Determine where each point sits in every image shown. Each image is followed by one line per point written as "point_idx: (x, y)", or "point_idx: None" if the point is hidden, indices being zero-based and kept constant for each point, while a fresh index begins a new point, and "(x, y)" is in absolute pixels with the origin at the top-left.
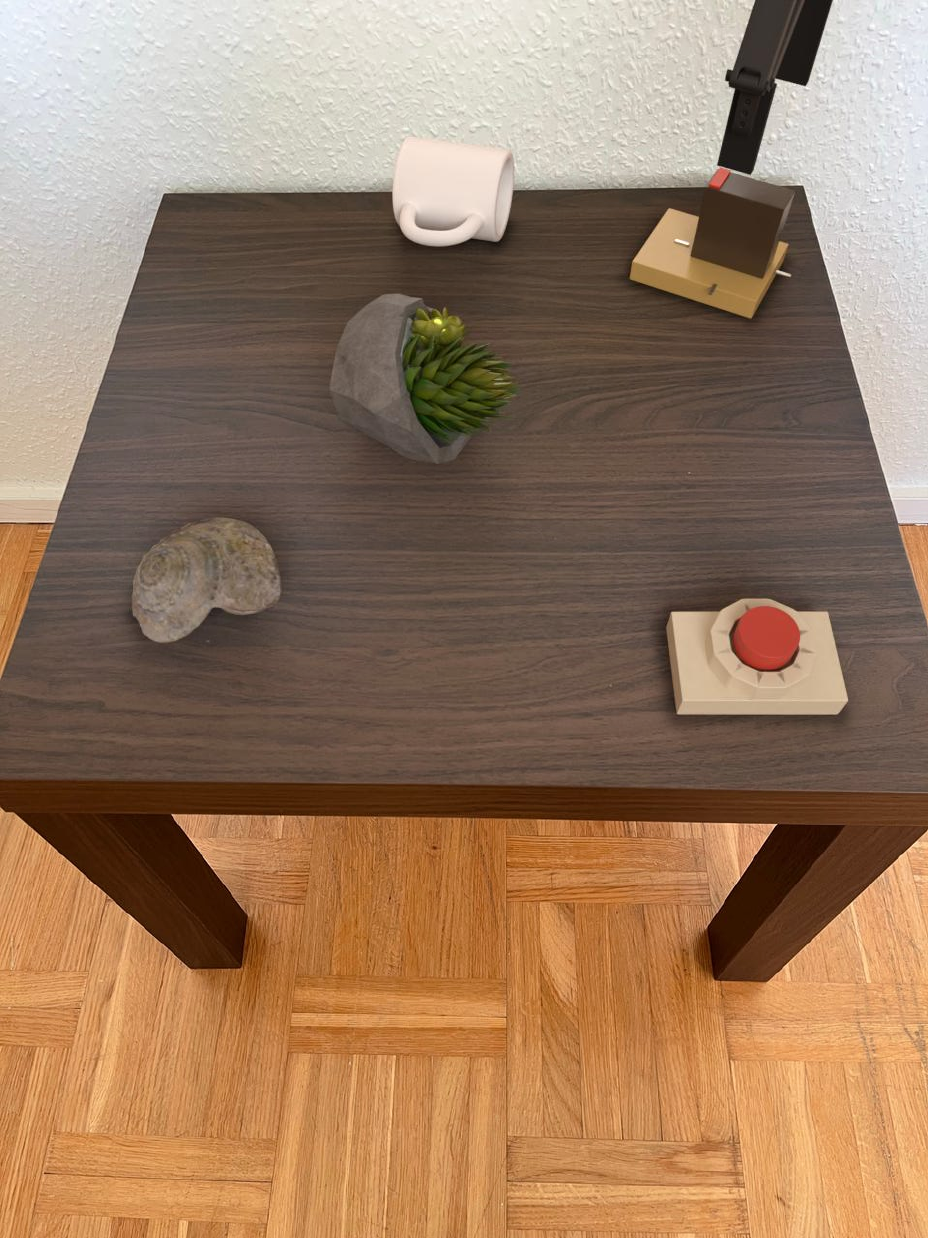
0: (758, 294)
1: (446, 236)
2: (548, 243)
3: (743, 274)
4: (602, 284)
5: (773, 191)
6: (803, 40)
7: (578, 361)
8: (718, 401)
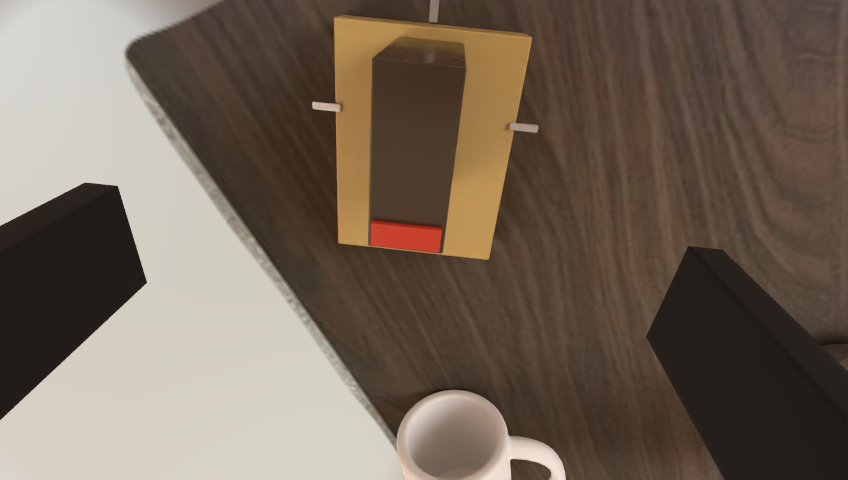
0: (512, 39)
1: (559, 466)
2: (449, 345)
3: None
4: (508, 271)
5: (402, 112)
6: (7, 326)
7: (681, 259)
8: (762, 34)
